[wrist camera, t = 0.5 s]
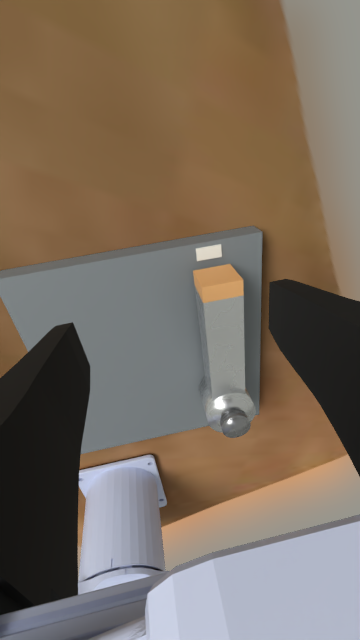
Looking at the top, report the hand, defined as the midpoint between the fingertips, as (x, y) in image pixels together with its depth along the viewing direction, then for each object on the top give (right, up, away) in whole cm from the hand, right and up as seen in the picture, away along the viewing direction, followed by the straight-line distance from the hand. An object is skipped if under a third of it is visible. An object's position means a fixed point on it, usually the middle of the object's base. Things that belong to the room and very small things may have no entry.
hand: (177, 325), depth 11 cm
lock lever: (+3, -2, +12) cm, 12 cm away
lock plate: (-2, -2, +13) cm, 13 cm away
